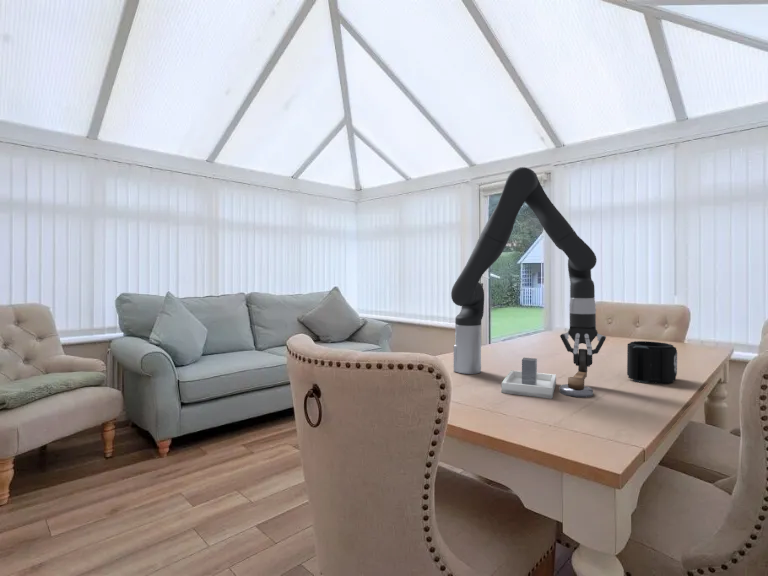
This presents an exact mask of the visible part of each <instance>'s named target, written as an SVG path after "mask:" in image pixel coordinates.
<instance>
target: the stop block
mask: <svg viewBox="0 0 768 576" xmlns="http://www.w3.org/2000/svg"><path fill="white" fill-rule="evenodd" d="M521 371H522V384H526V385H537V373H538V358H533V357H523V358H522V359H521Z"/></svg>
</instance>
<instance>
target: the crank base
mask: <svg viewBox="0 0 768 576" xmlns="http://www.w3.org/2000/svg"><path fill="white" fill-rule="evenodd" d="M559 393H560V394H561V395H564V396H566V397H572V398H582V399H583V398H591V397H593V396H594V389H593V388H592V387H589V386H586V385H584V389H571V388H569V387H568V383H565V384H561V385H559Z"/></svg>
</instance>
